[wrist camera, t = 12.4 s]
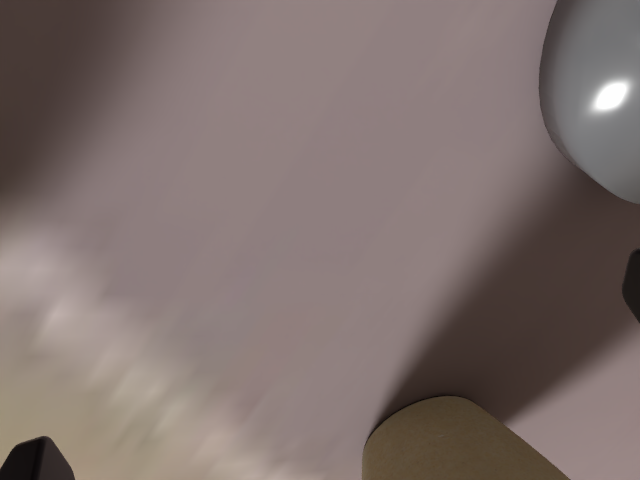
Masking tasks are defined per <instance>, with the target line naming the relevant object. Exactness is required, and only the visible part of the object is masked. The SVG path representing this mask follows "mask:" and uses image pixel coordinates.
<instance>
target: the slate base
mask: <svg viewBox="0 0 640 480" xmlns="http://www.w3.org/2000/svg"><path fill="white" fill-rule="evenodd" d="M539 96H540V106H541V111H542V115H543V119H544V123H545V126H546V129H547V131H548V133H549V135H550V138H551V140H552V141H553V143H554V144H555V146H556V147H557V149H558V150H559V151H560V152H561V153H562V154H563V155H564V156H565V157H566V158H567V159H568V160H569V161H570V162H571V163H572V164H574V165H575V166H576V167H578V168H579V169H580V170H582V171H583V172H584V173H586V174H587V175H588V176H590V177H591V178H592V179H594V180H595V181H596V182H598V183H599V184H600V185H601V186H603V187H604V188H605V189H607V190H608V191H610V192H611V193H613V194H614V195H616V196H618V197H619V198H621V199H624V200H626V201H629V202H632V203H636V204H640V0H558V1H557V4H556V7H555V9H554V12H553V15H552V17H551V20H550V23H549V26H548V30H547V34H546V38H545V41H544V45H543V51H542V57H541V63H540V73H539Z"/></svg>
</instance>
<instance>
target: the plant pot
mask: <svg viewBox="0 0 640 480" xmlns="http://www.w3.org/2000/svg"><path fill="white" fill-rule="evenodd" d="M362 480H570V479H569V478H568V477H567V476H566V475H565V474H563V473H562V472H561V471H560V470H559V469H558V468H556V467H555V466H554V465H553V464H552V463H551V462H549V461H548V460H547V459H546V458H545V457H544V456H542V455H541V454H540V453H539V452H538V451H536V450H535V449H534V448H533V447H531V446H530V445H529V444H528V443H527V442H525V441H524V440H523V439H522V438H520V437H519V436H518V435H517V434H515V433H514V432H513V431H511V430H510V429H509V428H507V427H506V426H505V425H504V424H502V423H501V422H500V421H498V420H497V419H496V418H494V417H493V416H492V415H490V414H489V413H488V412H486V411H485V410H484V409H482V408H481V407H479V406H478V405H476V404H475V403H474V402H472V401H470V400H468V399H465V398H462V397H456V396H442V397H434V398H430V399H426V400H423V401H420V402H417V403H414V404H412V405H410V406H407V407H405V408H404V409H402V410H400V411H398V412H397V413H395V414H393V415H392V416H391V417H389V418H388V419H387V420H385V421H384V422H383V423H382V424H381V425H380V426H379V427H378V428H377V429H376V430H375V431H374V432H373V434H372V435H371V436H370V438H369V439H368V441H367V443H366V445H365V448H364V451H363V457H362Z"/></svg>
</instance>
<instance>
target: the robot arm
mask: <svg viewBox="0 0 640 480" xmlns="http://www.w3.org/2000/svg"><path fill="white" fill-rule="evenodd" d="M622 294H623V297H624V300H625V302H626V304H627V305H628V307H629V308H630V310H631V311H632V313H633V314H634V316H635V317H636V319H637V320H638V322H639V323H640V248H638V249H635V250H634V251H633V252H632V253H631V254H630V256H629V260H628V264H627V268H626V272H625V276H624V280H623V284H622ZM0 480H75V477H74V474H73V471H72V469H71V467H70V465H69V464H68V462H67V461H66V459H65V458H64V456H63V455H62V453H61V452H60V451H59V449H58V448H57V446H56V445H55V443H54V442H53V441H52V439H51V438H49V437H47V436H41V437H38V438H35V439H31V440H28V441H25V442H22V443H19V444H18V445H16V446H15V447H14V448H13V449H12V451H11V452H10V454H9V455H8V457H7V459H6V460H5V462H4V464H3V465H2V467H1V469H0Z"/></svg>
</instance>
